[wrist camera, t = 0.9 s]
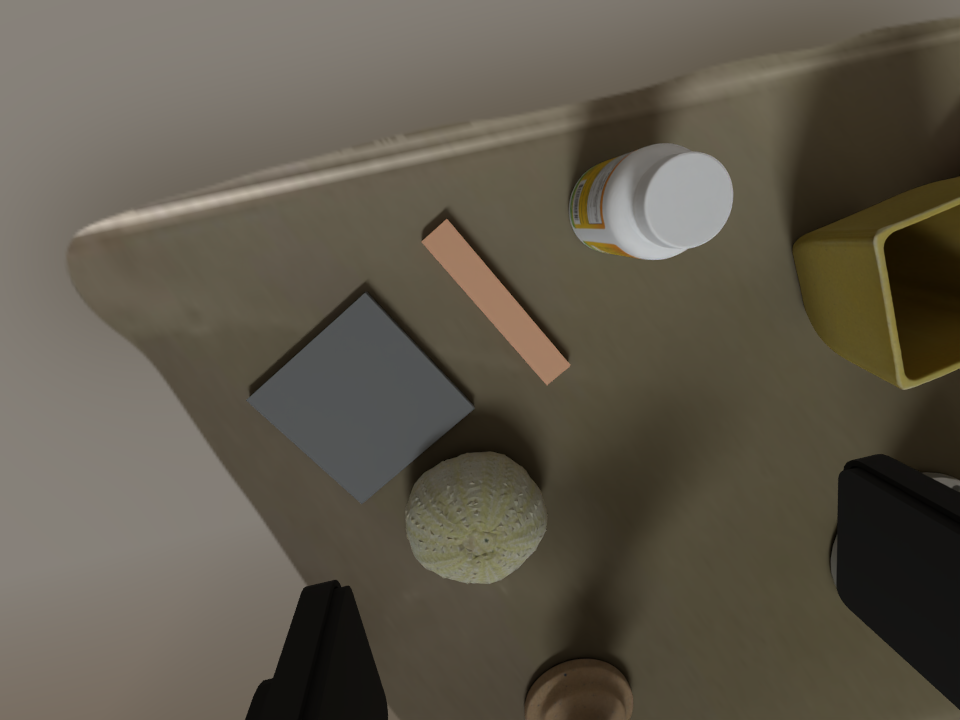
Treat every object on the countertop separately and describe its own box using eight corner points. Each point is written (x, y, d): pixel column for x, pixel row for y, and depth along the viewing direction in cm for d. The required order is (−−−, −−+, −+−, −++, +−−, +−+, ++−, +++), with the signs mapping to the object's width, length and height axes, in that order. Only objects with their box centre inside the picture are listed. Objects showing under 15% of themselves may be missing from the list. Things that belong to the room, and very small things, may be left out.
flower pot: (783, 351, 34) (903, 395, 26) (754, 230, 32) (875, 233, 23) (902, 300, 34) (1063, 326, 26) (882, 174, 32) (1052, 156, 23)
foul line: (568, 362, 33) (570, 365, 32) (544, 382, 33) (546, 385, 32) (446, 218, 30) (446, 218, 29) (421, 241, 30) (421, 241, 29)
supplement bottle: (668, 218, 31) (771, 216, 22) (596, 270, 31) (667, 290, 22) (624, 141, 30) (715, 104, 20) (550, 196, 30) (605, 184, 21)
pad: (473, 405, 33) (474, 408, 32) (362, 499, 34) (361, 504, 33) (366, 291, 30) (365, 292, 30) (249, 397, 31) (246, 400, 31)
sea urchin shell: (388, 459, 31) (488, 502, 27) (469, 422, 37) (563, 451, 33) (394, 583, 34) (487, 643, 29) (469, 529, 40) (557, 572, 35)
